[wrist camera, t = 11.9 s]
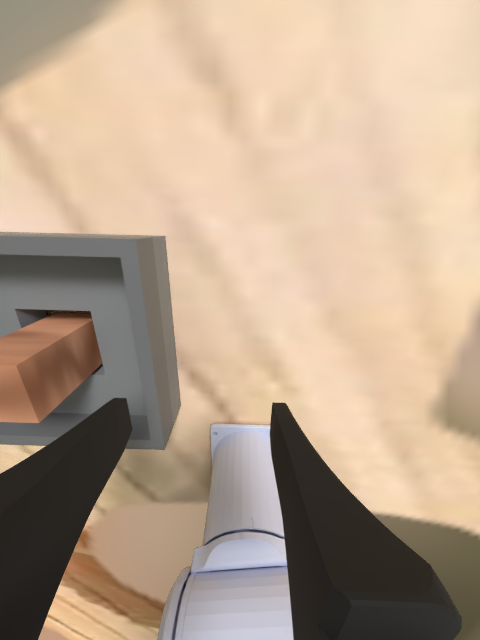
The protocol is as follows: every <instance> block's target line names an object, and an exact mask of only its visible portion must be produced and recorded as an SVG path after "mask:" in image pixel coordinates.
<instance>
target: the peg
mask: <svg viewBox="0 0 480 640" xmlns="http://www.w3.org/2000/svg"><path fill="white" fill-rule="evenodd" d="M101 364H102V359H101V355H100V350H99V346H98V342H97V337H96V333H95V329H94V325H93V320H92V316H91V313H55V314H52V315H50V316H48V317H46V318H44V319H41V320H39V321H37V322H35V323H32V324H30V325H28V326H26V327H23V328H21V329H19V330H17V331H14V332H12V333H10V334H8V335H6V336H3V337H1V338H0V422H18V423H40V422H41V421H42V420H43V419H44V418H45V417H46V416H47V415H48V414H49V413H51V412H52V411H53V410H54V409H55V408H56V407H57V406H58V405H59V404H60V403H61V402H62V401H63V400H64V399H65V398H66V397H67V396H68V395H70V394H71V393H72V392H73V391H74V390H75V389H76V388H77V387H78V386H79V385H80V384H81V383H82V382H83V381H84V380H85V379H86V378H87V377H89V376H90V375H91V374H92V373H93V372H94V371H95V370H96V369H97V368H98V367H99V366H100V365H101Z"/></svg>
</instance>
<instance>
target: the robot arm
mask: <svg viewBox="0 0 480 640" xmlns="http://www.w3.org/2000/svg"><path fill="white" fill-rule="evenodd" d="M132 430H133V428H132V423H131V418H130V413H129V409H128V404H127V399H126V398H113V399H111V400H110V401H109V402H107V403H106V404H104V405H103V406H102V407H100V408H99V409H98V410H96V411H95V412H94V413H92V414H91V415H90V416H88V417H87V418H85V419H84V420H83V421H81V422H80V423H79V424H77V425H76V426H75V427H73V428H72V429H70V430H69V431H68V432H66V433H65V434H63V435H62V436H60V437H59V438H57V439H56V440H54V441H53V442H51V443H50V444H48V445H47V446H46V447H44V448H43V449H41V450H39V451H38V452H36V453H35V454H33V455H31V456H30V457H28V458H27V459H25V460H23V461H22V462H20V463H18V464H17V465H15V466H13V467H12V468H10V469H8V470H6V471H5V472H3V473H1V474H0V640H38V638H39V635H40V633H41V630H42V627H43V625H44V622H45V619H46V617H47V614H48V611H49V609H50V607H51V604H52V602H53V599H54V597H55V594H56V592H57V589H58V587H59V584H60V582H61V579H62V577H63V574H64V572H65V569H66V567H67V565H68V562H69V560H70V558H71V555H72V553H73V551H74V548H75V546H76V544H77V541H78V539H79V537H80V535H81V532H82V530H83V528H84V526H85V524H86V521H87V519H88V517H89V515H90V513H91V511H92V509H93V507H94V505H95V503H96V501H97V499H98V497H99V496H100V494H101V492H102V490H103V488H104V487H105V485H106V483H107V481H108V479H109V478H110V476H111V474H112V472H113V470H114V468H115V467H116V465H117V463H118V461H119V459H120V457H121V456H122V454H123V452H124V450H125V447H126V445H127V443H128V440H129V438H130V435H131V432H132ZM210 433H211V462H212V479H211V486H210V494H209V501H208V509H207V517H206V524H205V532H204V539H203V546H202V547H197V548H195V549H194V554H193V560H192V566H191V567H186V568H184V569H183V570H182V572H181V573H180V575H179V576H178V578H177V580H176V582H175V583H174V585H173V587H172V588H171V591H170V593H169V595H168V598H167V601H166V604H165V607H164V611H163V615H162V619H161V623H160V628H159V633H158V638H157V640H453V639H454V638H455V637H456V636H457V635H458V633H459V632H460V630H461V627H462V618H461V616H460V614H459V612H458V610H457V608H456V607H455V605H454V603H453V601H452V600H451V598H450V596H449V594H448V592H447V591H446V589H445V587H444V586H443V584H442V583H441V581H440V580H439V578H438V577H437V575H436V573H435V572H434V570H433V569H432V567H431V565H430V564H428V563H427V562H426V561H425V560H424V559H423V558H421V557H420V556H419V555H418V554H416V553H415V552H414V551H413V550H412V549H411V548H409V547H408V546H407V545H406V544H405V543H404V542H402V541H401V540H400V539H399V538H398V537H396V536H395V535H394V534H393V533H392V532H391V531H390V530H389V529H388V528H387V527H385V526H384V525H383V524H382V523H381V522H380V521H379V520H378V519H377V518H376V517H375V516H374V515H373V514H372V513H371V512H370V511H369V510H368V509H367V508H366V507H365V506H364V505H363V504H362V503H361V502H360V501H359V500H358V499H357V498H356V497H355V496H354V495H353V494H352V493H351V492H350V491H349V490H348V489H347V488H346V487H345V485H344V484H343V483H342V482H341V481H340V480H339V479H338V478H337V476H336V475H335V474H334V473H333V472H332V471H331V469H330V468H329V467H328V466H327V464H326V463H325V462H324V461H323V459H322V458H321V457H320V455H319V454H318V453H317V451H316V450H315V449H314V447H313V446H312V445H311V443H310V442H309V440H308V439H307V437H306V436H305V434H304V433H303V431H302V430H301V428H300V427H299V425H298V423H297V422H296V420H295V419H294V417H293V415H292V413H291V412H290V410H289V408H288V406H287V405H286V403H273V404H272V414H271V425H248V424H218V423H215V424H212V425H211V429H210Z"/></svg>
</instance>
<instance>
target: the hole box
mask: <svg viewBox="0 0 480 640" xmlns="http://www.w3.org/2000/svg"><path fill="white" fill-rule="evenodd" d="M46 310H73V311H90V312H91V316H92V320H93V325H94V329H95V333H96V337H97V342H98V346H99V350H100V355H101V359H102V364H101V365H100V366H99V367H98V368H97V369H96V370H95V371H94V372H93V373H92V374H91V375H90V376H89V377H87V378H86V379H85V380H84V381H83V382H82V383H81V384H80V385H79V386H78V387H77V388H76V389H75V390H74V391H73V392H72V393H71V394H70V395H68V396H67V397H66V398H65V399H64V400H63V401H62V402H61V403H60V404H59V405H58V406H57V407H56V408H55V409H54V410H53V411H52V412H51V413H49V414H48V415H47V416H46V417H45V418H44V419H43V420H42V421H41V422H40V423H18V422H0V444H7V445H37V446H47V445H48V444H50V443H51V442H53V441H54V440H56V439H57V438H59V437H60V436H62V435H63V434H65V433H66V432H68V431H69V430H70V429H72V428H73V427H75V426H76V425H77V424H79V423H80V422H81V421H83V420H84V419H85V418H87V417H88V416H90V415H91V414H92V413H94V412H95V411H96V410H98V409H99V408H100V407H102V406H103V405H104V404H106V403H107V402H109V401H110V400H111V399H113V398H126V399H127V404H128V409H129V413H130V418H131V423H132V428H133V430H132V432H131V435H130V438H129V440H128V443H127V445H126V447H125V448H126V449H156V450H165V447H166V445H167V442H168V439H169V436H170V434H171V431H172V428H173V425H174V423H175V420H176V417H177V414H178V412H179V409H180V406H181V402H180V392H179V381H178V370H177V359H176V349H175V338H174V327H173V316H172V306H171V295H170V284H169V273H168V262H167V252H166V241H165V236H140V235H100V234H60V233H19V232H0V338H1V337H3V336H6V335H8V334H10V333H12V332H14V331H17V330H19V329H21V328H23V327H26V326H28V325H30V324H32V323H35V322H37V321H39V320H41V319H44V318H46V317H48V315H47V312H46Z"/></svg>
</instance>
